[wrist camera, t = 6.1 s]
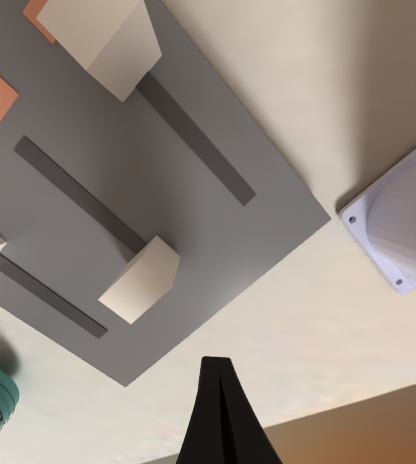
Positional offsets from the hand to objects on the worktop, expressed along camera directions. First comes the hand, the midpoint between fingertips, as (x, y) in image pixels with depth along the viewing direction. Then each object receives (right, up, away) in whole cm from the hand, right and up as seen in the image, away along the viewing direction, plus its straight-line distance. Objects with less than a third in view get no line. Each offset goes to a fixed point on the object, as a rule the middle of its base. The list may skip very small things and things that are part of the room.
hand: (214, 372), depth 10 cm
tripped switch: (-4, +5, +3) cm, 7 cm away
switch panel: (-7, +8, +4) cm, 12 cm away
